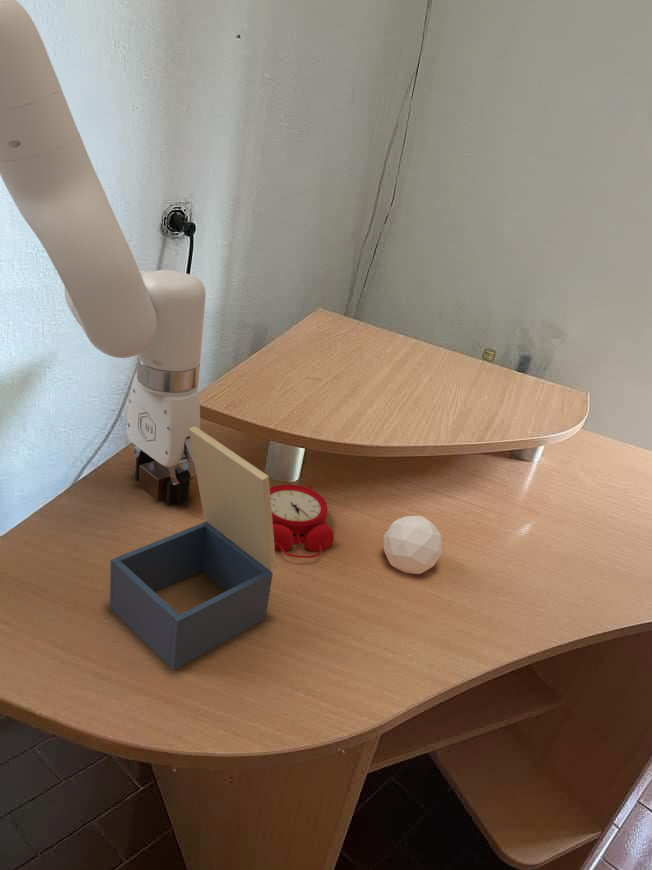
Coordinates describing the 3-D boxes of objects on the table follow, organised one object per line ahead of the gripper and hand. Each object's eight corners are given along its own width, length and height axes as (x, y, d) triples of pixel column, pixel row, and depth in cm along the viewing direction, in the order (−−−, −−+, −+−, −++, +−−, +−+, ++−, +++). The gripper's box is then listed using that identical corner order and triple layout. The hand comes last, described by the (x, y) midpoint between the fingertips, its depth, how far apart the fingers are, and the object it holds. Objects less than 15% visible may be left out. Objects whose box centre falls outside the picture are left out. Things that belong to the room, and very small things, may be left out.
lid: (262, 480, 66) (269, 476, 66) (188, 428, 71) (194, 425, 72) (270, 571, 75) (276, 567, 75) (204, 519, 80) (209, 516, 81)
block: (138, 492, 96) (139, 465, 94) (164, 483, 99) (166, 456, 97) (157, 507, 94) (158, 480, 92) (183, 497, 97) (186, 471, 95)
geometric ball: (397, 572, 97) (413, 517, 98) (444, 586, 91) (460, 528, 92) (364, 561, 91) (381, 503, 92) (411, 575, 86) (430, 513, 87)
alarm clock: (321, 481, 101) (349, 521, 88) (316, 520, 103) (342, 566, 89) (250, 478, 98) (267, 519, 84) (246, 519, 100) (262, 566, 86)
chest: (173, 677, 70) (178, 621, 66) (109, 614, 76) (110, 559, 72) (264, 625, 79) (273, 572, 75) (201, 572, 85) (206, 520, 81)
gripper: (102, 351, 89) (101, 470, 98) (186, 407, 81) (177, 532, 90) (152, 343, 94) (147, 457, 103) (236, 395, 86) (222, 513, 95)
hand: (161, 490), depth 96 cm, fingers open, 6 cm apart
